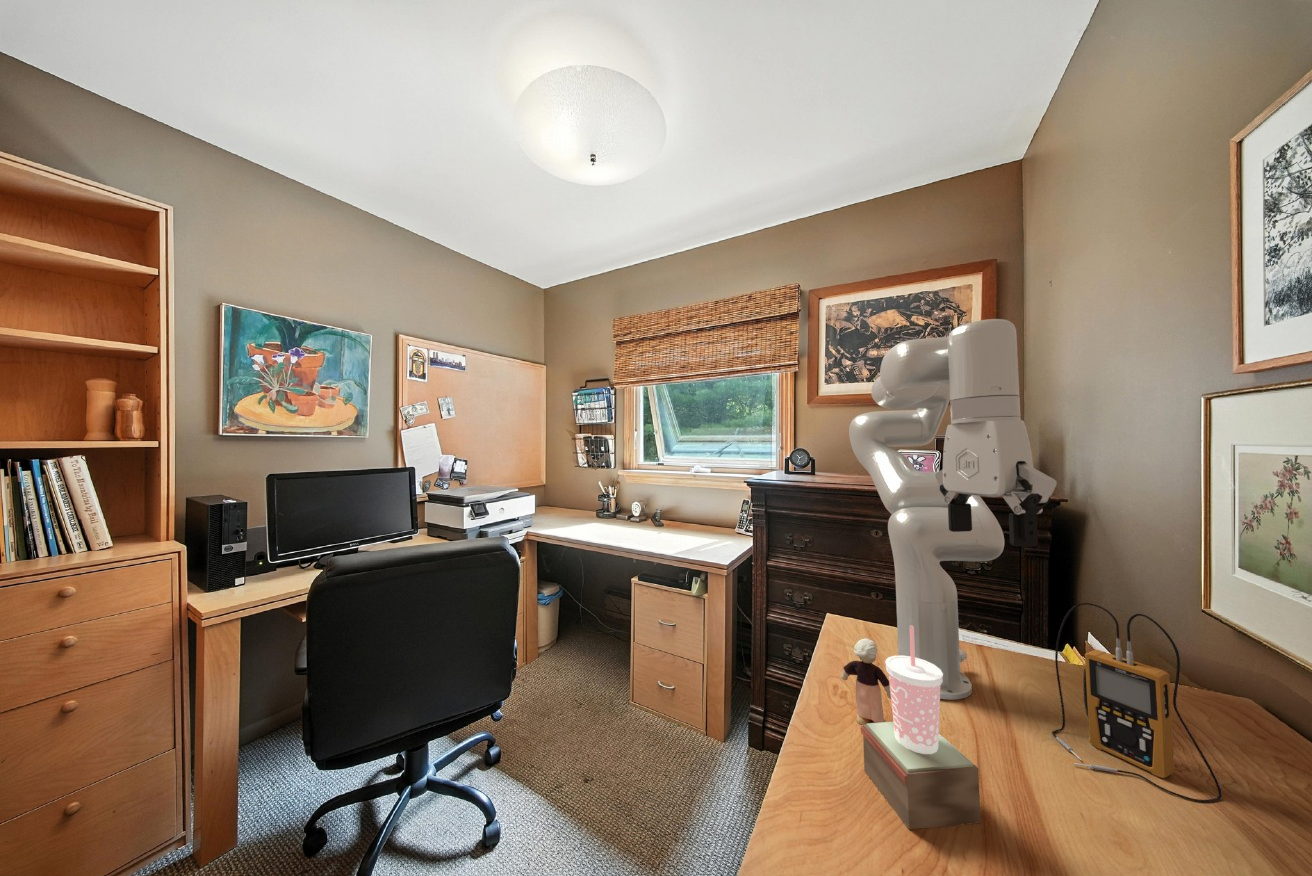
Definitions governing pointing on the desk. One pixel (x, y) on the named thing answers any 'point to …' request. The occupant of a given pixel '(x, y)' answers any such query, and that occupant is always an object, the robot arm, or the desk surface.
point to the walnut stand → (922, 780)
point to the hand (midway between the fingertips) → (989, 537)
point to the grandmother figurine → (867, 683)
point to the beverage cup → (915, 700)
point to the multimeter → (1130, 709)
